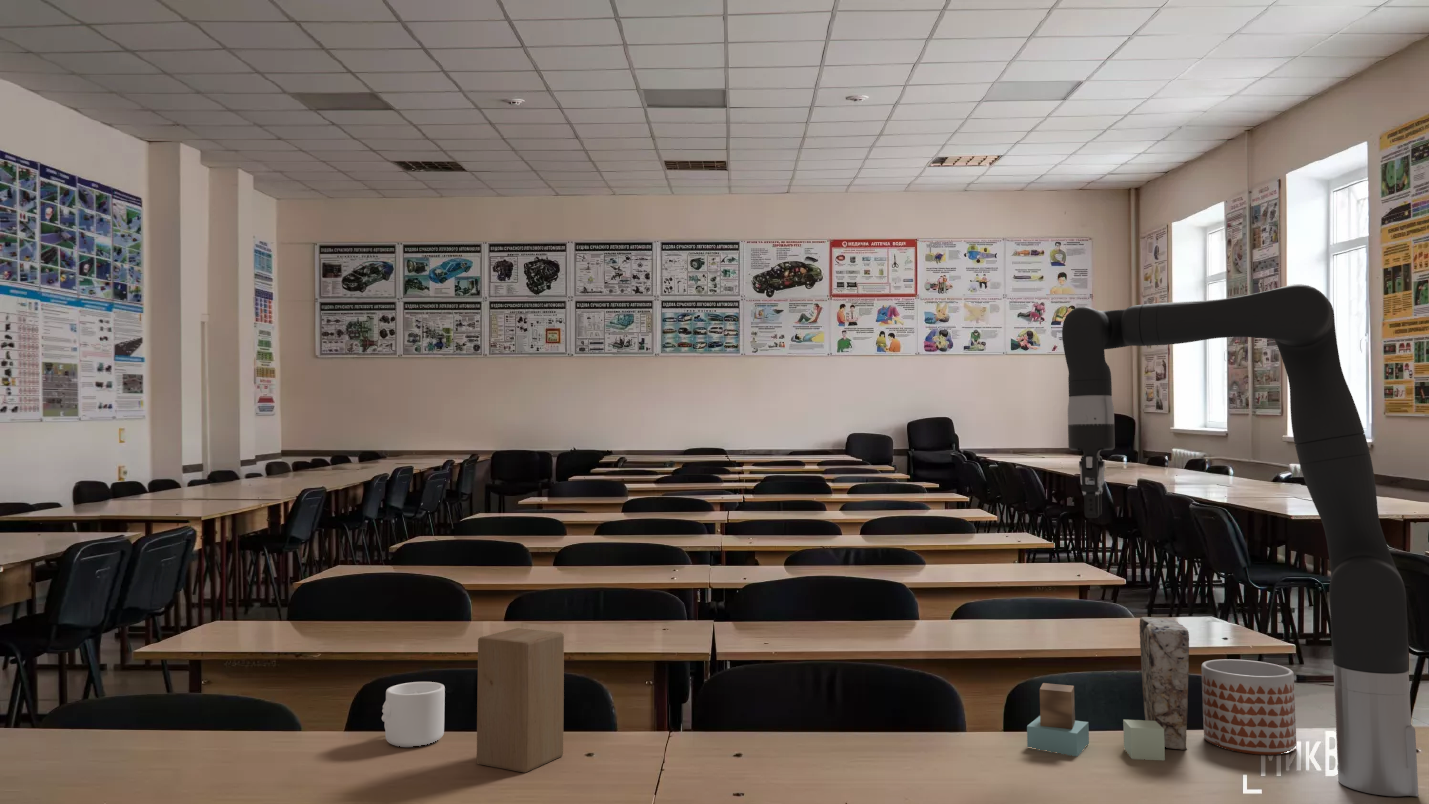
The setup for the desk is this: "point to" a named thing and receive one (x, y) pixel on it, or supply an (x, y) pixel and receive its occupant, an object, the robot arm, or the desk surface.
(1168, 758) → the desk surface
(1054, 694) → the walnut block
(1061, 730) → the teal pedestal
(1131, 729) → the sage block
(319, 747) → the desk surface
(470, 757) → the desk surface
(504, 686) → the wooden block
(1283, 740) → the planter
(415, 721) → the mug
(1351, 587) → the robot arm
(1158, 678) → the stone block
